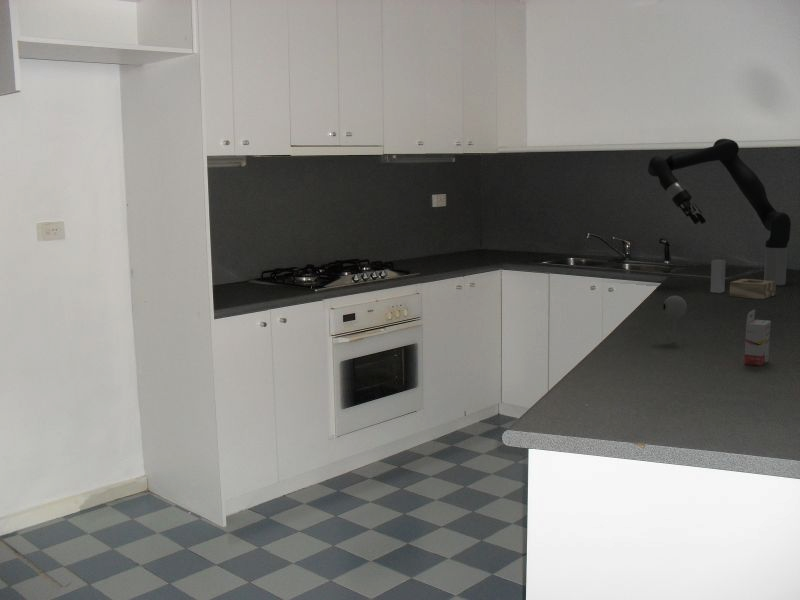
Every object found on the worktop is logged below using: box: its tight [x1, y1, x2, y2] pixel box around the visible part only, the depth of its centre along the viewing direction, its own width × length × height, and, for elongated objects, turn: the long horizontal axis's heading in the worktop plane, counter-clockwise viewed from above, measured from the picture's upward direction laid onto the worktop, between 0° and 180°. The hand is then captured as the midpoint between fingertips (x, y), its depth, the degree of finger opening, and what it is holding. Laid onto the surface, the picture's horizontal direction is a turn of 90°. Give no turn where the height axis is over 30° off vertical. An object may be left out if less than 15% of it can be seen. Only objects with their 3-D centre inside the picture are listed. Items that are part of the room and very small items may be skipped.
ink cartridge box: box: [744, 309, 772, 367], centre depth 250 cm, size 9×5×15 cm, turn 145°
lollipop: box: [662, 295, 688, 343], centre depth 281 cm, size 7×7×15 cm
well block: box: [729, 278, 777, 300], centre depth 376 cm, size 14×14×6 cm
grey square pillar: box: [710, 259, 727, 294], centre depth 387 cm, size 4×4×14 cm
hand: (700, 222), depth 389 cm, fingers open, 8 cm apart
